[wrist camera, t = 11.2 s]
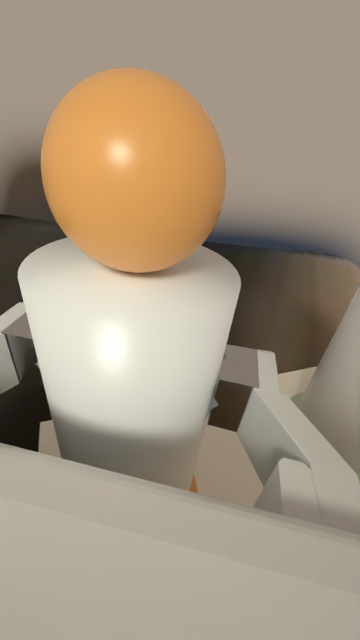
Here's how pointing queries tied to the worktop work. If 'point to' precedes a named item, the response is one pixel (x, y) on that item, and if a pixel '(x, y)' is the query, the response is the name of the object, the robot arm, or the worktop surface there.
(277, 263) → the worktop surface
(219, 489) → the card
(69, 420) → the orange ball tube
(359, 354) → the green ball tube
